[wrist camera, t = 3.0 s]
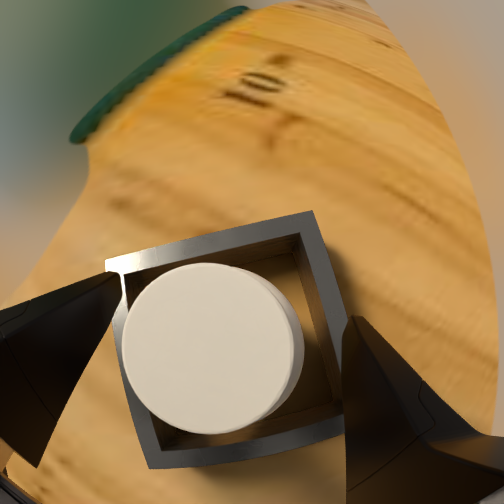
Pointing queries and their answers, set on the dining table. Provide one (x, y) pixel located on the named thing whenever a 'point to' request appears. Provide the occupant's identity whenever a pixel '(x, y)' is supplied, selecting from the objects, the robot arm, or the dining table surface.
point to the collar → (323, 316)
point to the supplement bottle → (212, 348)
